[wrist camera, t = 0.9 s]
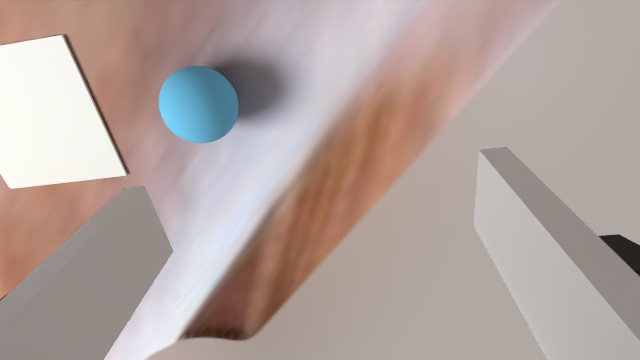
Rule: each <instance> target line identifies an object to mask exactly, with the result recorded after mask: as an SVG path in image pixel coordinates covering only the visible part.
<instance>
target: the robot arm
mask: <svg viewBox="0 0 640 360" xmlns="http://www.w3.org/2000/svg"><path fill="white" fill-rule="evenodd" d="M474 227H475V229H476V231H477V233H478V235H479V236H480V238H481V240H482V242H483V244H484V246H485V247H486V249H487V251H488V253H489V254H490V256H491V258H492V260H493V262H494V264H495V266H496V267H497V269H498V271H499V273H500V274H501V276H502V278H503V280H504V282H505V284H506V285H507V287H508V289H509V291H510V293H511V295H512V296H513V298H514V300H515V302H516V304H517V306H518V307H519V309H520V311H521V313H522V315H523V316H524V318H525V320H526V322H527V324H528V326H529V327H530V329H531V331H532V333H533V335H534V336H535V338H536V340H537V342H538V344H539V346H540V347H541V349H542V351H543V353H544V355H545V356H546V358H547V360H640V245H638V244H636V243H634V242H632V241H630V240H628V239H626V238H625V237H623V236H621V235H606V236H597V235H596V234H595V233H594V232H593V231H592V230H591V229H590V228H589V227H588V226H587V225H586V224H585V223H584V222H583V221H582V220H581V219H580V218H579V217H578V216H577V215H576V214H575V213H574V212H573V211H572V210H571V209H570V208H569V207H568V206H567V205H565V204H564V203H563V202H562V201H561V200H560V199H559V198H558V197H557V196H556V195H555V194H554V193H553V192H552V191H551V190H550V189H549V188H548V187H547V186H546V185H545V184H544V183H543V182H542V181H541V180H540V179H539V178H538V177H537V176H536V175H535V174H534V173H533V172H532V171H531V170H530V169H529V168H528V167H527V166H525V165H524V164H523V163H522V162H521V161H520V160H519V159H518V158H517V157H516V156H515V155H514V154H513V153H512V152H511V151H510V150H509V149H508V148H507V147H502V148H493V149H483V150H479V159H478V173H477V188H476V202H475V216H474ZM172 252H173V249H172V247H171V245H170V242H169V240H168V238H167V236H166V233H165V231H164V229H163V227H162V224H161V222H160V220H159V217H158V215H157V213H156V211H155V208H154V206H153V204H152V201H151V199H150V197H149V195H148V192H147V190H146V188H145V186H141V187H132V188H123V189H122V190H121V191H120V192H119V193H118V194H117V195H116V196H115V197H113V198H112V199H111V200H110V201H109V202H108V203H107V204H106V205H105V206H104V207H102V208H101V209H100V210H99V211H98V212H97V213H96V214H95V215H94V216H93V217H92V218H90V219H89V220H88V221H87V222H86V223H85V224H84V225H83V226H82V227H81V228H80V229H78V230H77V231H76V232H75V233H74V234H73V235H72V236H71V237H70V238H69V239H67V240H66V241H65V242H64V243H63V244H62V245H61V246H60V247H59V248H58V249H57V250H55V251H54V252H53V253H52V254H51V255H50V256H49V257H48V258H47V259H46V260H45V261H43V262H42V263H41V264H40V265H39V266H38V267H37V268H36V269H35V270H34V271H33V272H31V273H30V274H29V275H28V276H27V277H26V278H25V279H24V280H23V281H22V282H20V283H19V284H18V285H17V286H16V287H15V288H14V289H13V290H12V291H11V292H10V293H8V294H7V295H5V296H4V297H3V298H2V299H0V360H103V359H104V358H105V356H106V355H107V353H108V352H109V350H110V349H111V347H112V345H113V344H114V342H115V341H116V339H117V338H118V336H119V335H120V333H121V331H122V330H123V328H124V327H125V325H126V324H127V322H128V321H129V319H130V317H131V316H132V314H133V313H134V311H135V310H136V308H137V307H138V305H139V304H140V302H141V300H142V299H143V297H144V296H145V294H146V293H147V291H148V290H149V288H150V286H151V285H152V283H153V282H154V280H155V279H156V277H157V276H158V274H159V272H160V271H161V269H162V268H163V266H164V265H165V263H166V262H167V260H168V258H169V257H170V255H171V254H172Z"/></svg>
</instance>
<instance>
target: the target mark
mask: <svg viewBox="0 0 640 360" xmlns="http://www.w3.org/2000/svg"><path fill="white" fill-rule="evenodd" d="M0 174H1V175H2V177H3V178H4V180H5V182H6V183H7V185H8V186H9V188H10V189H13V188H22V187H31V186H39V185H48V184H57V183H65V182H74V181H83V180H92V179H100V178H109V177H118V176H126V175H128V174H127V172H126V170H125V167H124V165H123V163H122V161H121V159H120V157H119V154H118V152H117V150H116V148H115V146H114V144H113V141H112V139H111V137H110V135H109V133H108V131H107V128H106V126H105V124H104V122H103V120H102V117H101V115H100V113H99V111H98V109H97V107H96V104H95V102H94V100H93V98H92V96H91V94H90V91H89V89H88V87H87V85H86V83H85V80H84V78H83V76H82V74H81V72H80V70H79V67H78V65H77V63H76V61H75V59H74V57H73V54H72V52H71V50H70V48H69V46H68V44H67V41H66V39H65V37H64V35H59V36H53V37H47V38H41V39H36V40H30V41H24V42H18V43H12V44H6V45H1V46H0Z"/></svg>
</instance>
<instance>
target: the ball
mask: <svg viewBox="0 0 640 360" xmlns="http://www.w3.org/2000/svg"><path fill="white" fill-rule="evenodd" d="M159 109H160V113H161V116H162V118H163V120H164V122H165V124H166V125H167V126H168V128H169V129H170V130H171V131H172V132H173V133H174V134H176V135H177V136H179V137H180V138H182V139H184V140H187V141H190V142H195V143H208V142H213V141H216V140H218V139H220V138H222V137H223V136H225V135H226V134H227V133H228V132H229V131H230V130H231V129H232V127H233V126H234V124H235V122H236V119H237V116H238V110H239V104H238V98H237V95H236V92H235V90H234V88H233V86H232V85H231V83H230V82H229V81H228V80H227V79H226V78H225V77H224V76H223V75H222V74H220V73H219V72H217V71H215V70H213V69H210V68H207V67H203V66H189V67H185V68H182V69H180V70H178V71H176V72H174V73H173V74H172V75H171V76H169V78H168V79H167V80H166V81H165V83H164V84H163V86H162V88H161V91H160V95H159Z"/></svg>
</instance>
